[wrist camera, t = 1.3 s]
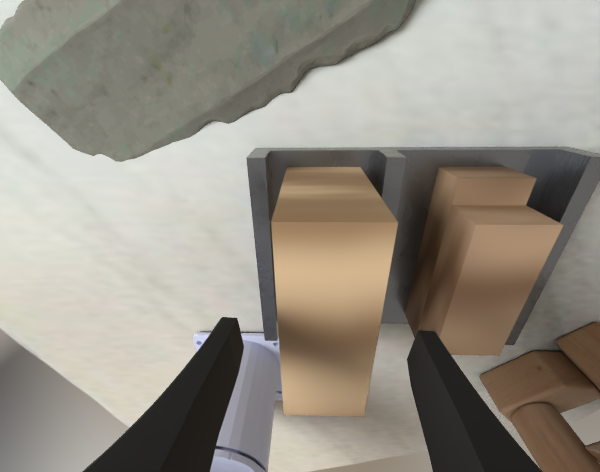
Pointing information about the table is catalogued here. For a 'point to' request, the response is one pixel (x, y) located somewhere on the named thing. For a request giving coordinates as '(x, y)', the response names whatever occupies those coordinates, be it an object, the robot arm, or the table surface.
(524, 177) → the walnut offcut lower
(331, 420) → the table surface
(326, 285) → the oak board
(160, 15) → the stone slab
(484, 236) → the walnut offcut upper
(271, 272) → the rack
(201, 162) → the table surface
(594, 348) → the wooden block
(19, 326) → the table surface
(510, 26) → the table surface
